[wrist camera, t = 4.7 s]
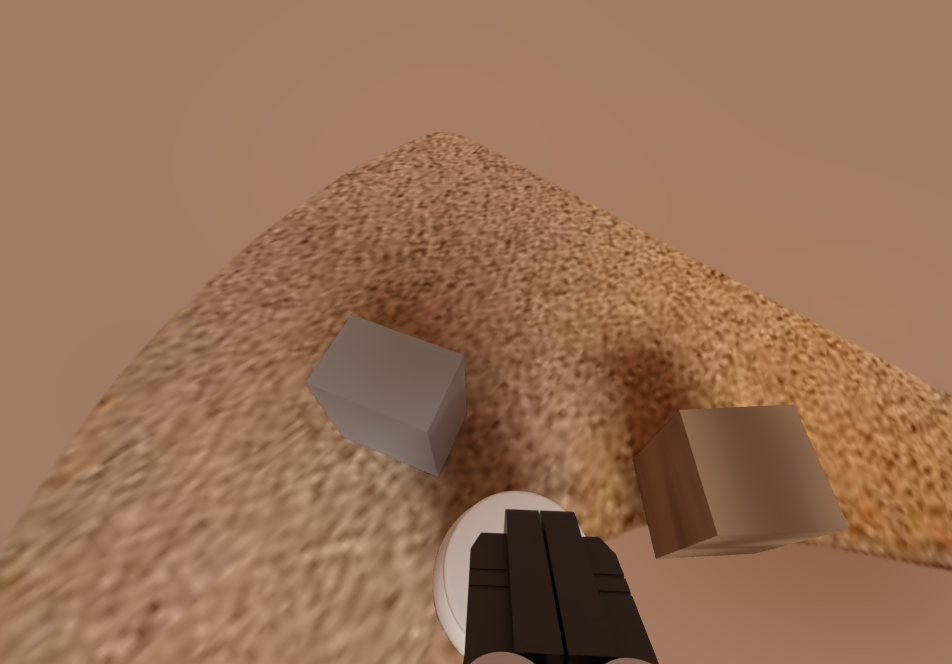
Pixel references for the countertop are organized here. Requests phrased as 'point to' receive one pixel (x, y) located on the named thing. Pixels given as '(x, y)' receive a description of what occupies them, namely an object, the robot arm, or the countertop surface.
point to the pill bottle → (456, 555)
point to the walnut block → (734, 483)
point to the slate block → (393, 393)
